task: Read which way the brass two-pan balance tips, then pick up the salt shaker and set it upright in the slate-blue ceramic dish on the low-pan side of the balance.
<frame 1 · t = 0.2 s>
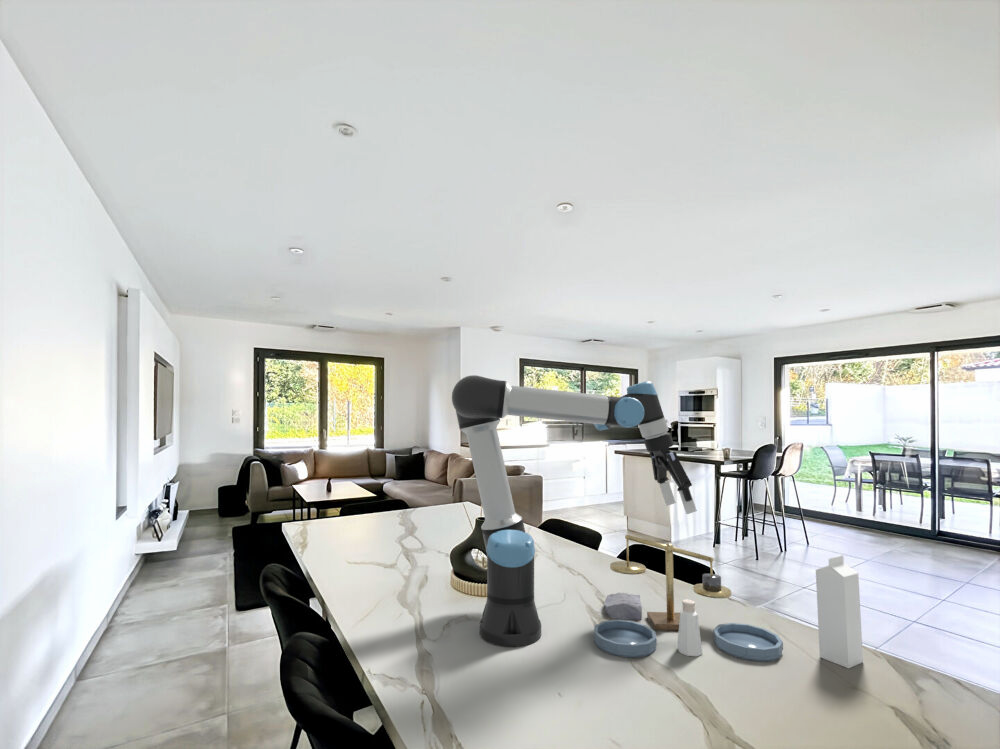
hand: (680, 508, 140), 28 cm above the table, tool tilted 20°, fingers open, 13 cm apart
balance: (670, 624, 129), on the table
stone block: (622, 612, 138), on the table
dish high side: (624, 643, 117), on the table
milk: (841, 660, 110), on the table
salt shaker: (689, 652, 114), on the table
dish low side: (747, 647, 116), on the table
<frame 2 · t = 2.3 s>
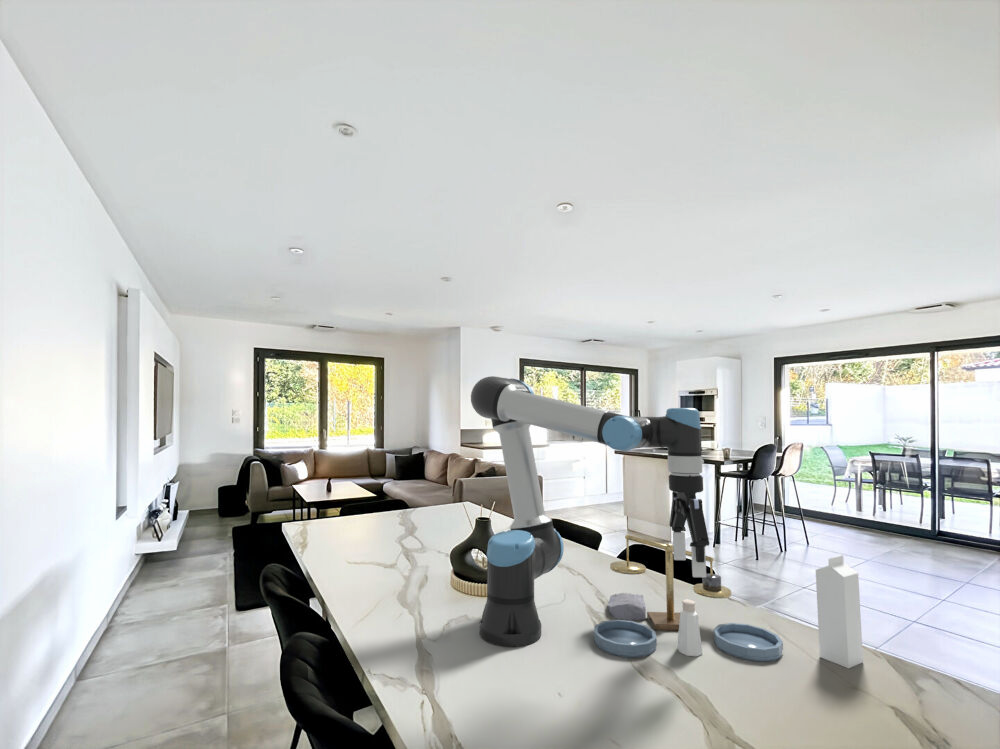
hand: (689, 567, 115), 18 cm above the table, tool pointing down, fingers open, 13 cm apart
nothing on the table moved.
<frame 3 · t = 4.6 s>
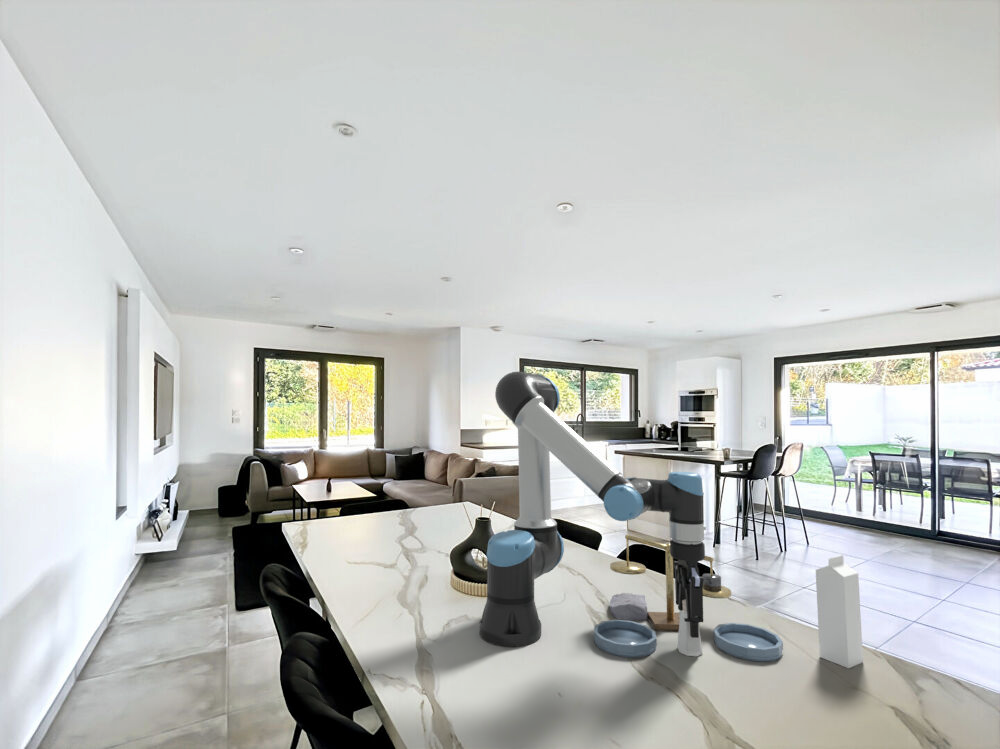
hand: (689, 645, 114), 1 cm above the table, tool pointing down, fingers closed on salt shaker, 4 cm apart
salt shaker: (689, 652, 114), on the table, touching gripper
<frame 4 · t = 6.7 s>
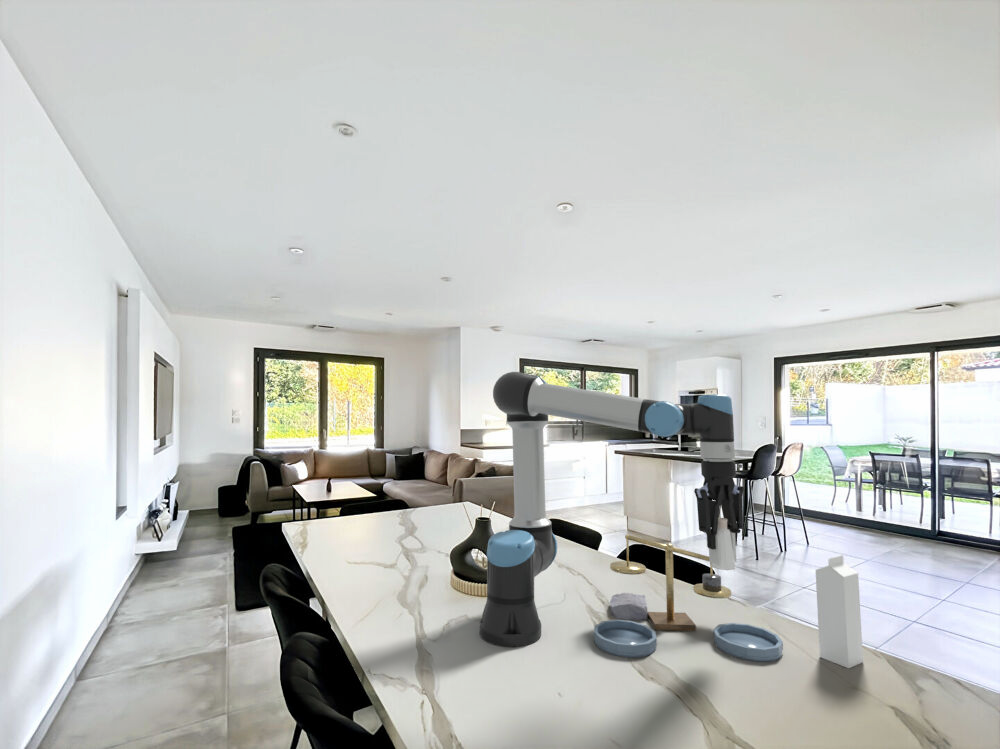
hand: (723, 561, 116), 20 cm above the table, tool pointing down, fingers closed on salt shaker, 4 cm apart
salt shaker: (723, 567, 116), point 18 cm above the table, touching gripper
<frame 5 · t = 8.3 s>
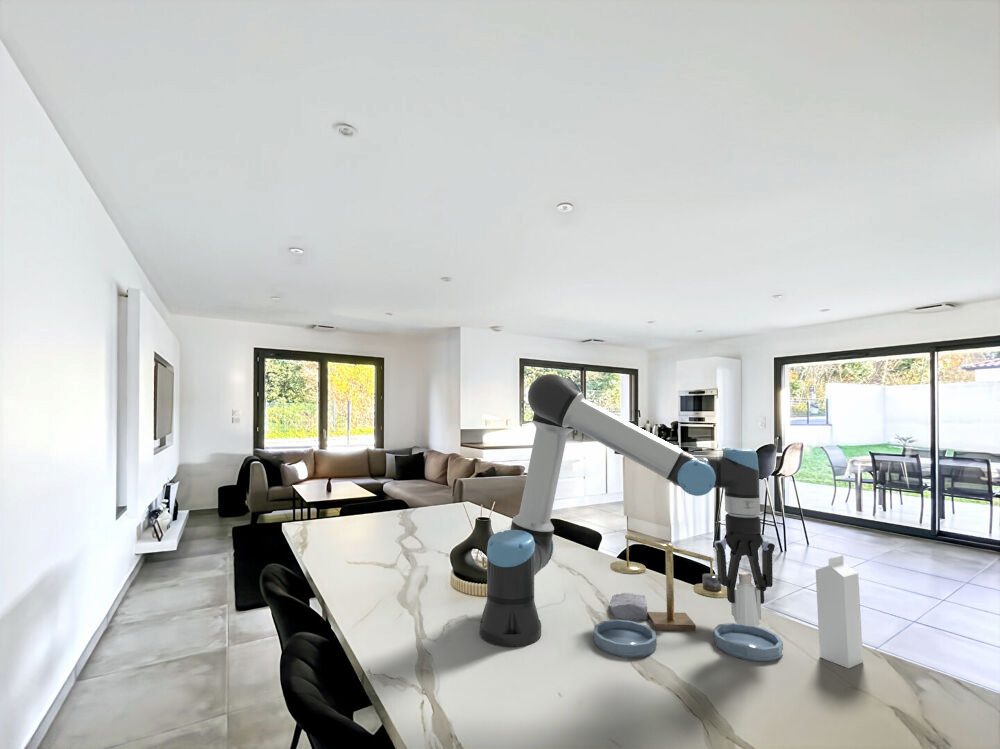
hand: (746, 616, 117), 7 cm above the table, tool pointing down, fingers closed on salt shaker, 4 cm apart
salt shaker: (746, 623, 116), point 5 cm above the table, touching gripper
when the fingers open (4 cm above the table, at t = 9.2 s): salt shaker drops 1 cm, resting on dish low side.
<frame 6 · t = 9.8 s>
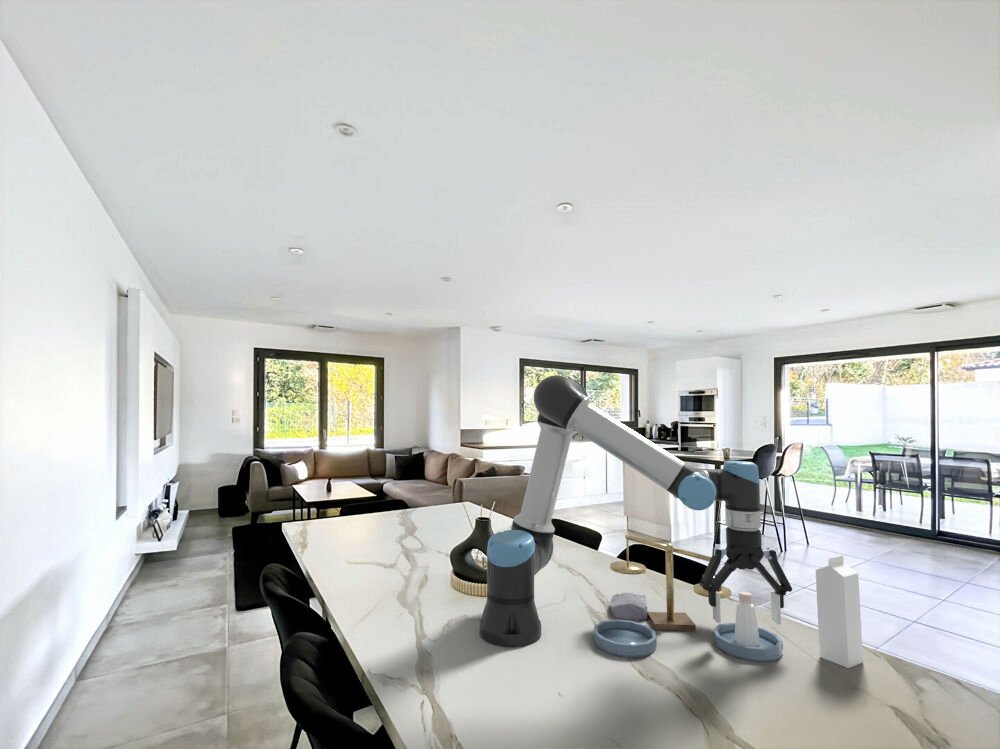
hand: (746, 621, 116), 6 cm above the table, tool pointing down, fingers open, 13 cm apart
salt shaker: (747, 643, 116), point 1 cm above the table, touching dish low side
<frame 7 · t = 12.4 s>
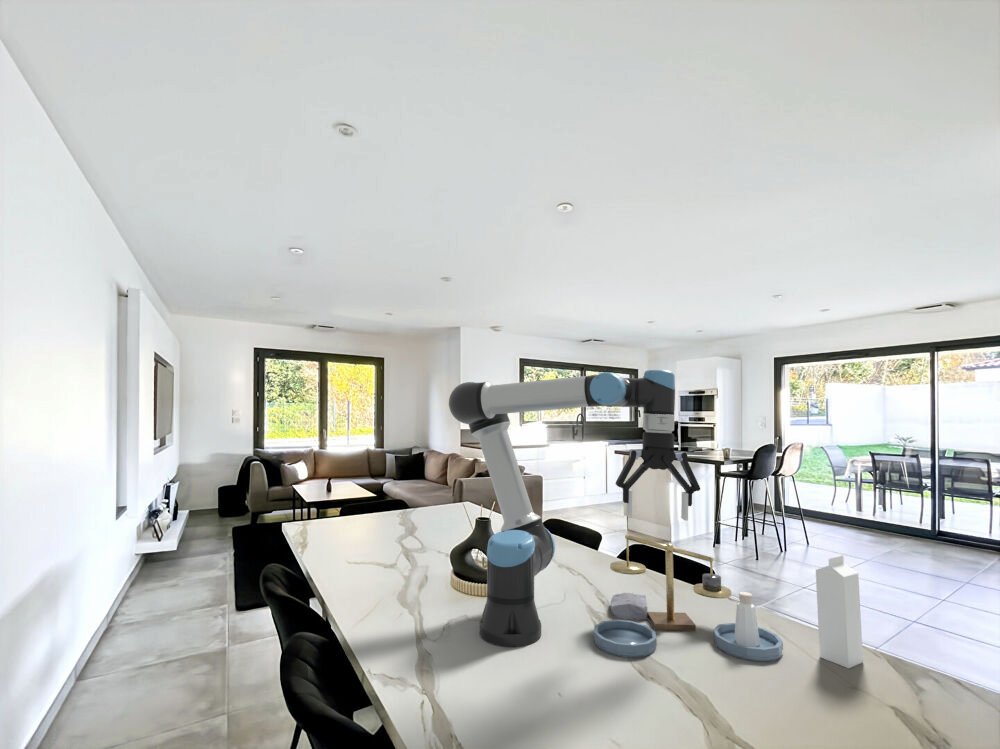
hand: (656, 518, 124), 28 cm above the table, tool pointing down, fingers open, 13 cm apart
stone block: (628, 612, 137), on the table, touching balance
everything else where it was.
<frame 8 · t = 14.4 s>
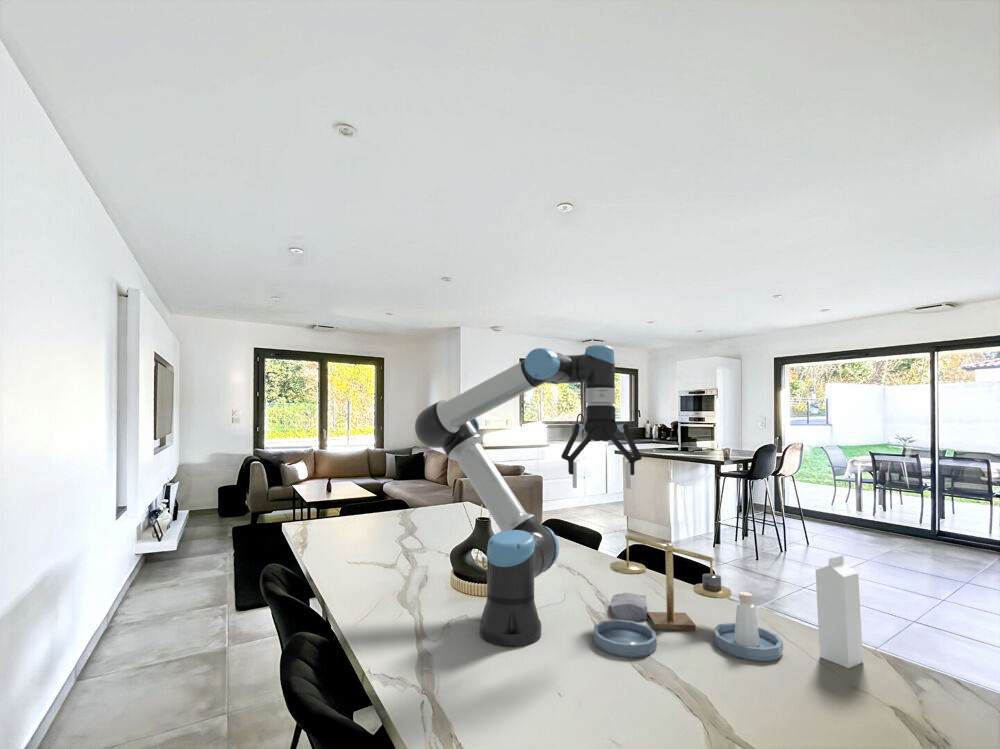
hand: (601, 488, 129), 35 cm above the table, tool pointing down, fingers open, 13 cm apart
stone block: (628, 612, 137), on the table
everything else where it was.
at the end: salt shaker 0.1 cm from the dish low side (horizontally); salt shaker tilted 0°; the gripper is holding nothing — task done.
